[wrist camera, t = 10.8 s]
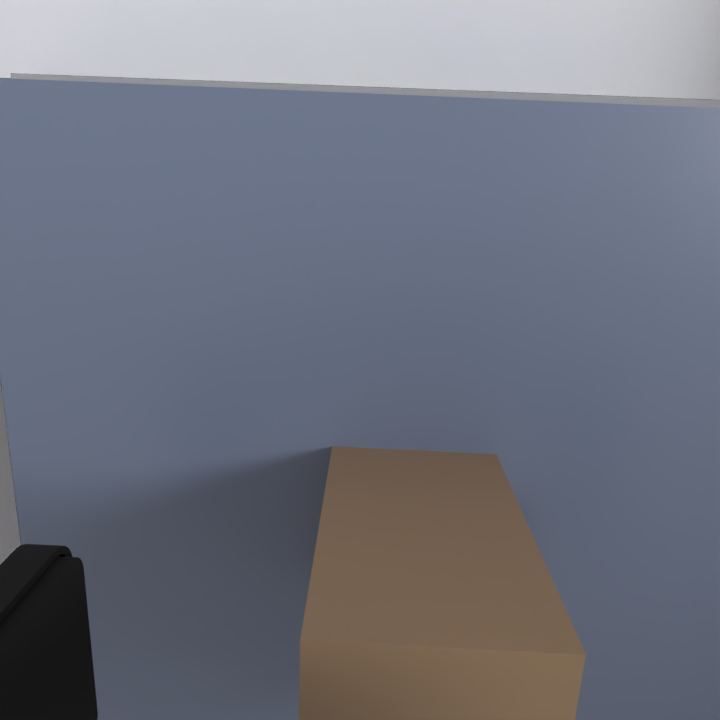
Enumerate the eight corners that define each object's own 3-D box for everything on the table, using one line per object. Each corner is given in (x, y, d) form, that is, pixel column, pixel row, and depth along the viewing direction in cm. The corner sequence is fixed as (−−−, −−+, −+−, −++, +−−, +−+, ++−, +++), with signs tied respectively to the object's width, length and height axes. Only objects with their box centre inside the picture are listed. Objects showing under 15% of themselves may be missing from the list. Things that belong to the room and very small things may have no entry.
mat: (821, 107, 12) (839, 104, 12) (678, 743, 17) (687, 759, 16) (25, 77, 13) (10, 73, 12) (89, 713, 17) (80, 729, 16)
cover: (814, 130, 12) (1475, 48, 5) (673, 743, 16) (916, 1197, 9) (44, 97, 12) (-437, -28, 5) (100, 712, 16) (-119, 1134, 9)
